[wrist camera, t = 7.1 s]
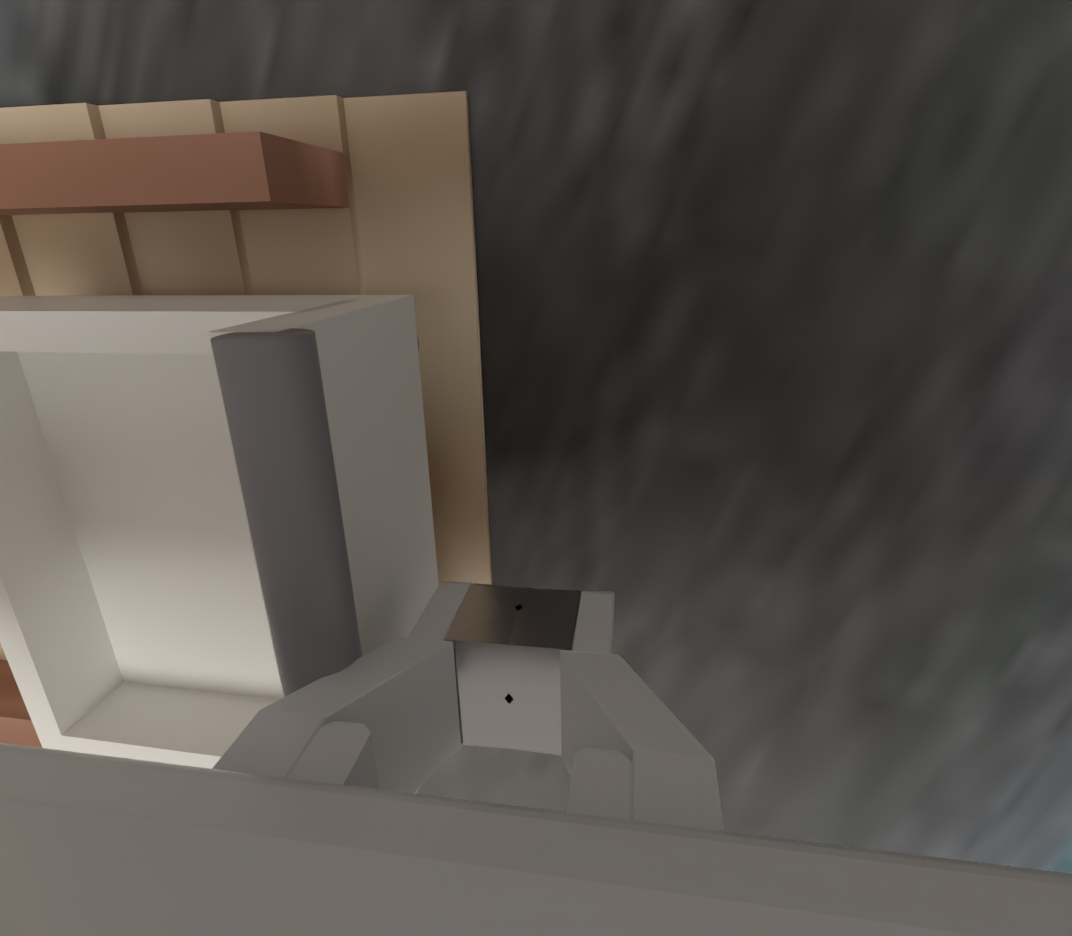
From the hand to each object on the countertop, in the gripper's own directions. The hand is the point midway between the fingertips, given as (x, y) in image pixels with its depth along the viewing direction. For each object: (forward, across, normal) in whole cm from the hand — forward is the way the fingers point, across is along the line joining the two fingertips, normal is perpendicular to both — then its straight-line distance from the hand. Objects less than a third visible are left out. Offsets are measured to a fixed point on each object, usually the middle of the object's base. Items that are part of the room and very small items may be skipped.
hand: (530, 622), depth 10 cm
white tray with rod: (+4, +6, -1) cm, 7 cm away
